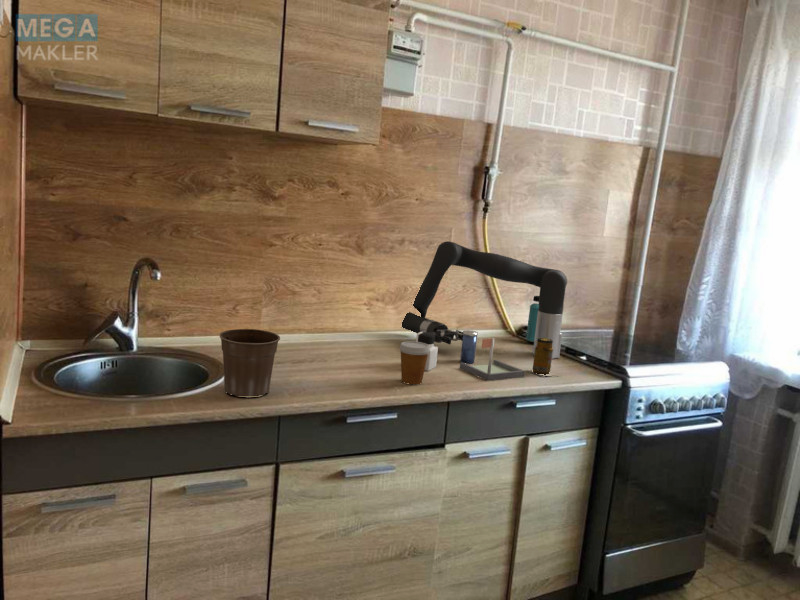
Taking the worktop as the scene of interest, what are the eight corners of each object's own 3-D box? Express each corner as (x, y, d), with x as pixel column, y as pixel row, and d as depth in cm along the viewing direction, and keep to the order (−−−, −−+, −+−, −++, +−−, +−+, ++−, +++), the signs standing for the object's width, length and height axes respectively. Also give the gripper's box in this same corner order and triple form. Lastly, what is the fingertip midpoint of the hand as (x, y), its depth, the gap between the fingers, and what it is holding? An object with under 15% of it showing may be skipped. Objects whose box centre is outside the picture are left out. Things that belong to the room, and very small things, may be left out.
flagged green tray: (451, 369, 229) (455, 328, 227) (495, 364, 240) (499, 326, 237) (479, 381, 217) (483, 339, 214) (524, 376, 227) (529, 336, 225)
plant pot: (286, 398, 185) (289, 341, 182) (228, 404, 176) (231, 344, 173) (263, 381, 198) (266, 327, 195) (209, 386, 189) (211, 330, 187)
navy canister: (471, 360, 243) (474, 330, 242) (476, 364, 238) (479, 333, 237) (458, 359, 242) (461, 330, 240) (462, 363, 237) (465, 333, 235)
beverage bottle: (542, 345, 277) (548, 298, 273) (526, 344, 277) (532, 296, 273) (539, 342, 283) (545, 295, 280) (523, 340, 283) (529, 294, 280)
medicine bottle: (436, 367, 230) (439, 332, 228) (428, 371, 224) (431, 336, 222) (417, 363, 233) (420, 329, 231) (408, 367, 226) (411, 332, 224)
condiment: (543, 369, 239) (547, 336, 237) (558, 376, 232) (562, 342, 230) (526, 370, 236) (530, 337, 234) (541, 377, 229) (545, 343, 227)
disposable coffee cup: (417, 388, 204) (420, 350, 202) (390, 381, 208) (393, 344, 206) (432, 382, 212) (436, 345, 210) (406, 375, 217) (409, 339, 214)
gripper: (419, 321, 253) (444, 331, 239) (449, 320, 260) (476, 329, 247) (417, 341, 254) (442, 352, 241) (447, 339, 262) (474, 349, 248)
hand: (459, 340), depth 244 cm, fingers open, 8 cm apart
